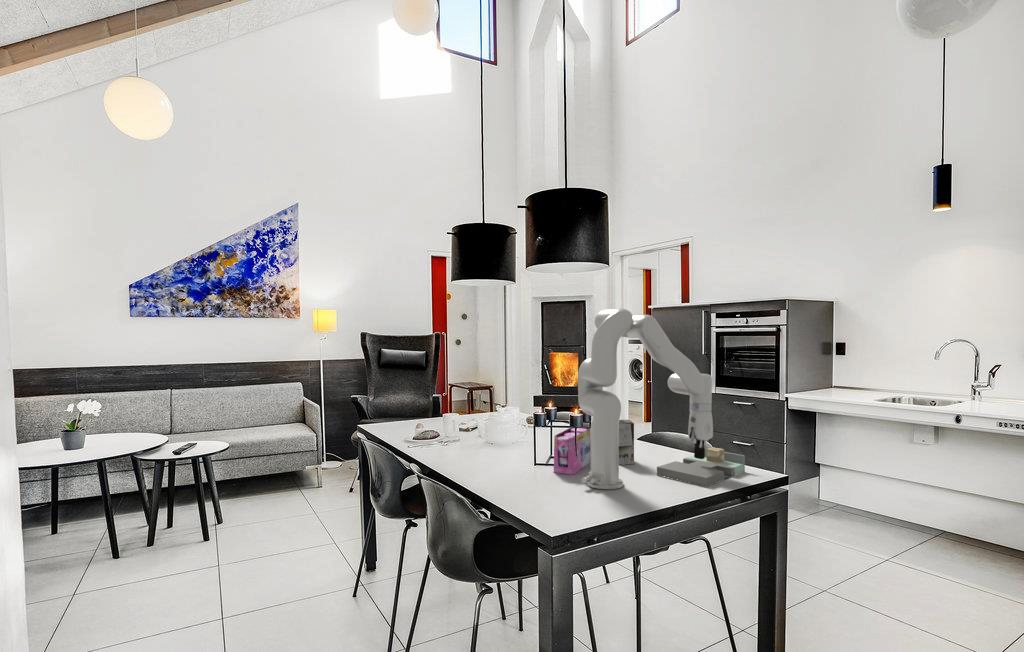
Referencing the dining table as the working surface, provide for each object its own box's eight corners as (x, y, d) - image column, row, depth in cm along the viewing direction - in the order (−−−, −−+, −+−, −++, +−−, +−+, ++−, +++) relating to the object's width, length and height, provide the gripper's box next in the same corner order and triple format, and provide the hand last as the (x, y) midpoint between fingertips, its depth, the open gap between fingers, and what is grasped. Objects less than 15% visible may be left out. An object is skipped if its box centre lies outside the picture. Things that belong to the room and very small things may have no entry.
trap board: (706, 486, 177) (706, 468, 177) (656, 475, 191) (656, 458, 191) (744, 471, 196) (744, 455, 196) (696, 462, 210) (696, 446, 210)
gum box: (572, 476, 191) (572, 438, 191) (551, 473, 194) (551, 436, 194) (591, 461, 212) (591, 427, 212) (573, 459, 216) (573, 425, 216)
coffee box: (634, 465, 206) (634, 423, 206) (618, 464, 206) (617, 423, 206) (630, 459, 215) (629, 419, 215) (614, 459, 215) (613, 419, 215)
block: (717, 463, 196) (717, 451, 196) (706, 460, 200) (706, 448, 200) (724, 461, 199) (724, 449, 199) (713, 459, 203) (713, 447, 203)
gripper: (699, 410, 186) (698, 463, 185) (720, 407, 196) (719, 457, 195) (680, 407, 191) (679, 459, 191) (701, 405, 201) (700, 453, 201)
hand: (699, 458), depth 193 cm, fingers closed
